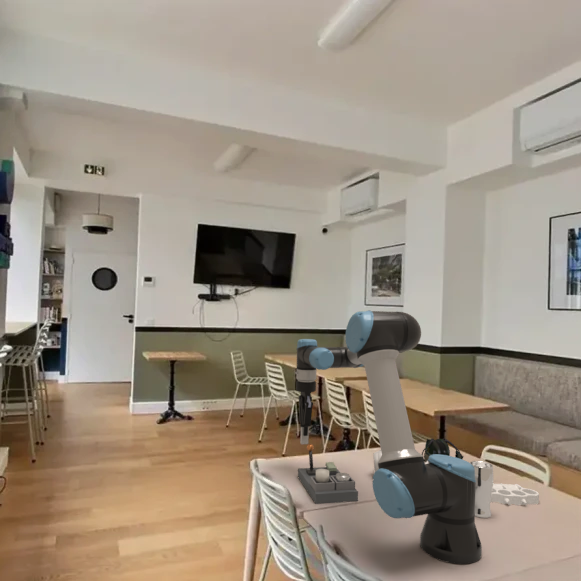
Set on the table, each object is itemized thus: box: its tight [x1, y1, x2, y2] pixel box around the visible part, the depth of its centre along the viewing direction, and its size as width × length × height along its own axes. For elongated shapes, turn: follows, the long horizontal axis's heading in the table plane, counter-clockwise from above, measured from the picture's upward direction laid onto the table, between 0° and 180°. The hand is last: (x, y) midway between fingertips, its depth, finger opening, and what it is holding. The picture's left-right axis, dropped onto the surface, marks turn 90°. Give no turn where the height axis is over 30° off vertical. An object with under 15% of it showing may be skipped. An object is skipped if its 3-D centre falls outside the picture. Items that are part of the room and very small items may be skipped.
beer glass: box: [469, 460, 494, 519], centre depth 148 cm, size 7×7×15 cm
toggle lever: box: [306, 443, 315, 471], centre depth 172 cm, size 3×3×9 cm
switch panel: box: [297, 466, 359, 505], centre depth 165 cm, size 24×14×6 cm, turn 13°
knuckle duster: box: [490, 482, 540, 506], centre depth 161 cm, size 3×18×15 cm
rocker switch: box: [324, 461, 338, 471], centre depth 172 cm, size 4×3×1 cm, turn 13°
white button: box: [316, 469, 329, 483], centre depth 158 cm, size 4×4×3 cm
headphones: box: [421, 438, 465, 462], centre depth 193 cm, size 13×13×20 cm
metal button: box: [336, 472, 351, 482], centre depth 159 cm, size 4×4×3 cm
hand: (304, 443), depth 181 cm, fingers closed
